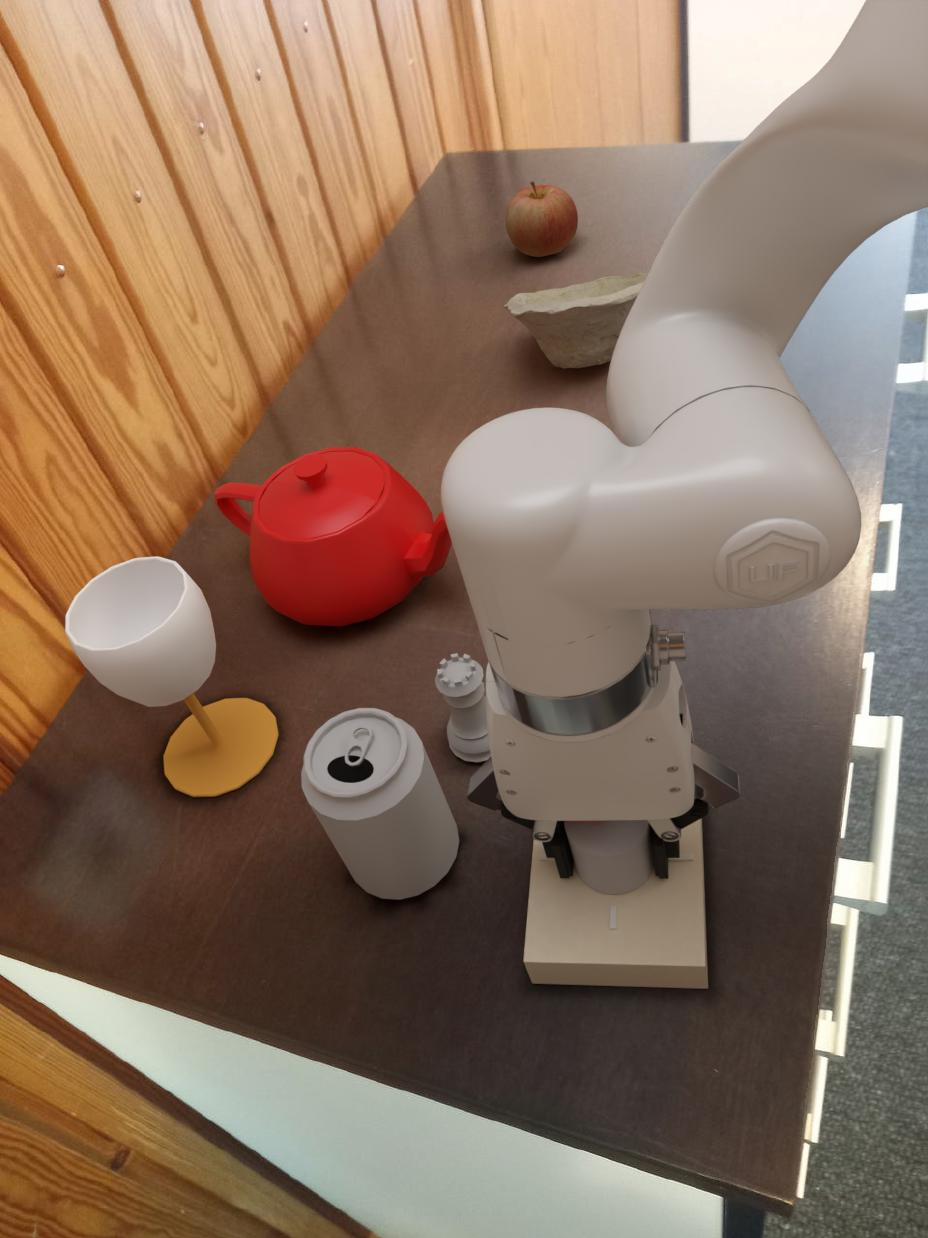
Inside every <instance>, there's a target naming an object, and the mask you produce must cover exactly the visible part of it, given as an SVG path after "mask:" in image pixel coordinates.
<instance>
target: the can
mask: <svg viewBox="0 0 928 1238" xmlns="http://www.w3.org/2000/svg"><path fill="white" fill-rule="evenodd" d="M302 758H303V759H302V761H303V764H302V768H301V771H300V777H301V790H302V792H303V793H304V797H305V798H306V801H307V803H308V804H309V807H310V808H311V810H312V812H313V813H314V815H315V816H316V818H317V820H318V822H319V823H320V825H321V826H322V828H323V830H324V832H325V833H326V835H327V837H328V838H329V840H330V841H331V843H332V845H333V847H334V849H335V850H336V852H337V853H338V855H339V857H340V858H341V861H343V862H342V863H344V865H345V866H346V869H347V870H348V872H349V873H350V876H351V877H352V878H353V880H354V882H355V883H356V884H357V885H358V886H359V887H360V888H361V889H363V891H365V892H366V893H367V894H370V895H372V896H374V897H376V898H380V899H382V900H383V899H384V900H404V899H409V898H413V897H416V896H420V895H422V894H423V893H425V892H426V891H428V890H430V889H432V888H433V887H435V886H436V885H437V884H438V883H439V882H440V881H441V880H442V879H443V878H444V877H445V876H447V874H448V873H449V871H450V870H451V867H452V866H453V864H454V862H455V860H456V858H457V857H458V856H457V855H458V849H459V846H460V845H459V844H460V837H459V830H458V824H457V823H456V820H455V818H454V815H453V813H452V810H451V808H450V806H449V803H448V801H447V799H446V796H445V794H444V791H443V789H442V786H441V784H440V781H439V779H438V777H437V775H436V773H435V772H436V771H435V770H434V767H433V764H432V763H431V760H430V758H429V755H428V753H427V750H426V748H425V746H424V744H423V741H422V740H421V738H420V736H419V735H418V733H417V730H416V729H415V727H413V726H411V725H410V724H408V723H407V722H406V721H405V720H403V719H402V718H400V717H396V716H395V715H393V714H392V713H390V712H389V711H386V710H383V709H380V708H376V707H358V708H354V709H350V710H346V711H343V712H341V713H339V714H337V715H335V716H333V717H331V718H329V719H328V720H327V721H326V722H324V723H323V724H322V725H320V727H319V728H318V729H316V731H315V732H314V733H313V735H312V736H311V738H310V739H309V740H308V742H307V744H306V748H305V751H304V753H303V757H302Z"/></svg>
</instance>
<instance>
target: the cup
mask: <svg viewBox="0 0 928 1238" xmlns="http://www.w3.org/2000/svg"><path fill="white" fill-rule="evenodd" d="M64 617H65V619H64V620H65V621H64V633H65V635H66V637H67V640H68V642H69V643H70V646H71V648H72V650H73V652H74V653H75V655H76V656H77V657H78V659H79V660H80V662H81V663H82V665H83V666H84V667H85V669H87V670H88V672H89V673H90V674H91V675H92V676H93V677H94V678H95V680H96V681H97V682H99V684H101V685H102V686H103V687H106V689H108V690H109V691H111V692H112V693H114V694H115V695H117V696H119V697H122V698H124V699H126V700H130V701H132V702H134V703H137V704H141V705H143V706H145V707H149V708H151V707H152V708H153V707H167V706H170V705H174V704H176V703H180V702H182V701H184V703H185V704H186V706H187V708H188V709H189V710H190V712H191V713H192V714H191V715H190V716H188V717H187V718H185V719H183V721H182V723H181V724H180V725H179V727H177V728H176V730H175V731H174V732H173V734H172V735H171V736H170V738H169V740H168V742H167V745H166V749H165V751H164V753H163V756H162V757H163V771H164V776H165V777H166V778H167V780H168V781H169V783H170V784H171V786H172V787H173V788H174V790H175V791H178V792H180V793H183V794H185V795H187V796H189V797H192V798H216V797H219V796H222V795H225V794H227V793H230V792H232V791H233V792H234V791H236V790H238V789H240V788H241V787H243V786H244V785H246V784H247V783H249V781H251V780H253V778H255V777H256V776H259V774H260V773H261V772H262V770H264V767H265V766H266V765H267V763H269V761H270V760H271V758H272V757H273V755H274V753H275V750H276V746H277V742H278V739H279V736H280V734H279V728H278V723H277V718H276V716H275V715H274V714H273V712H272V711H271V710H270V709H269V708H268V707H267V705H266V704H265V703H262V702H260V701H256V700H254V699H252V698H248V697H231V698H224V699H220V700H218V701H215V702H212V703H209V704H207V705H204V706H203V705H202V704H201V702H200V701H199V700H198V698H197V696H196V695H195V693H196V692H198V691H199V689H200V688H201V687H202V686H203V684H204V683H205V682H206V681H207V679H209V677H210V676H211V673H212V671H213V668H214V665H215V663H216V652H217V642H216V634H215V628H214V622H213V617H212V612H211V609H210V607H209V604H208V602H207V600H206V597H205V595H204V593H203V591H202V589H201V588H200V587H199V585H198V584H197V583H196V582H195V581H194V580H193V579H192V577H191V576H190V575H189V574H188V572H187V571H186V570H185V569H184V568H183V567H182V566H181V565H180V564H179V563H178V562H177V561H176V560H172V559H168V558H165V557H162V556H144V557H143V556H142V557H135V558H132V559H129V560H126V561H124V562H123V561H122V562H120V563H117V564H114V565H112V566H110V567H109V568H107V569H106V570H104V571H102V572H101V573H99V574H97V575H96V576H94V577H93V578H92V579H90V580H89V581H88V582H87V583H86V585H84V587H83V588H81V589H80V591H78V592H77V594H76V595H75V596H74V597H73V600H72V601H71V603H70V605H69V607H68V609H67V611H66V614H65V616H64Z"/></svg>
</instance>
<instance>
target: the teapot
mask: <svg viewBox="0 0 928 1238" xmlns="http://www.w3.org/2000/svg"><path fill="white" fill-rule="evenodd" d="M213 497H214V503H215V505H216V507H217V508H218V510H219V511H220V512H221V514H222V515H223V516H224V517H225V518H226V519H227V520H228V521H229V522H230V523H231V524H232V525H234V526H235V527H236V528H237V529H239V530H240V531H241V532H242V533H244V534H246V535H247V536H248V537H249V564H250V574H251V576H252V579H253V582H254V585H255V586H256V588H257V590H258V591H259V593H260V594H261V595H262V597H263V599H264V600H265V601H266V603H267V605H269V606H270V608H272V609H273V610H274V611H275V612H276V613H279V614H280V615H283V616H285V617H286V618H289V619H291V620H293V621H295V622H298V623H299V624H302V625H308V626H322V627H323V626H326V627H344V626H348V625H352V624H356V623H360V622H364V621H369V620H371V619H375V618H376V617H378V616H379V615H381V614H383V613H385V612H387V611H388V610H390V609H392V608H393V607H395V606H397V605H398V604H400V603H402V601H404V599H405V598H406V597H407V596H409V594H410V593H411V592H412V591H413V590H414V589H415V588H416V587H417V585H418V584H419V583H421V581H422V579H423V578H424V577H429V576H434V575H436V573H437V572H439V571H440V570H441V569H442V568H444V566H445V564H446V561H447V559H448V555H449V553H450V551H451V547H452V541H451V538H450V534H449V531H448V528H447V525H446V521H445V517H444V512H443V511H442V512H441V513H439V514H438V515H437V517H436V518H435V520H434V516H433V512H432V510H431V508H430V506H429V504H428V503H427V500H425V498H424V497H423V496H422V495H421V493H420V492H418V490H417V489H416V488H415V487H414V486H413V484H412V483H410V482H409V481H408V480H407V479H406V478H405V477H404V476H403V475H402V473H400V472H399V471H398V470H397V469H395V468H394V467H393V466H392V465H391V464H390V463H389V462H387V461H386V460H384V459H383V458H382V457H381V456H380V455H378V454H377V453H375V452H372V451H369V450H366V449H363V448H360V447H356V446H351V447H350V446H349V447H347V446H346V447H345V446H344V447H343V446H342V447H341V446H340V447H332V446H331V447H328V448H327V447H326V448H323V449H319V450H316V451H312V452H309V453H305V454H303V455H301V456H299V457H298V458H295V459H293V460H291V461H290V462H288V463H286V464H284V465H282V466H281V467H280V468H279V469H277V470H276V471H274V472H273V473H272V474H271V475H270V476H269V477H268V478H267V479H266V480H265V481H264V482H263V484H262V485H260V484H252V483H246V482H231V481H230V482H227V483H225V484H222V485H220V486H219V487H217V488H216V489H215V492H214V494H213ZM237 500H242V501H247V502H248V501H249V502H253V503H252V510H251V514H250V513H248V512H247V511H246V510H245V509H244V508H243V507H242V506H241V505H240V504H239V503H238V502H237Z"/></svg>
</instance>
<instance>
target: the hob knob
mask: <svg viewBox="0 0 928 1238" xmlns="http://www.w3.org/2000/svg"><path fill="white" fill-rule="evenodd" d="M564 826H565V831H566V834H567V838H568V841H569V845H570V849H571V852H572V856H573V860H574V863H575V867H576V870H577V873H578V875H579V876H580V878H581V879H582V880H583V882H584V883H585V884H587V885H588V886H589V887H591V888H592V889H594V890H596V891H598V892H601V893H605V894H612V895H617V894H625V893H628V892H631V891H633V890H635V889H637V888H639V887H640V886H642V885H643V884H644V883H645V882H646V881H647V880H648V879H649V877H650V876H651V874H652V872H653V870H654V863H653V857H652V851H651V842H650V824H649V822H648V821H647V820H606V821H564Z"/></svg>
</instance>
